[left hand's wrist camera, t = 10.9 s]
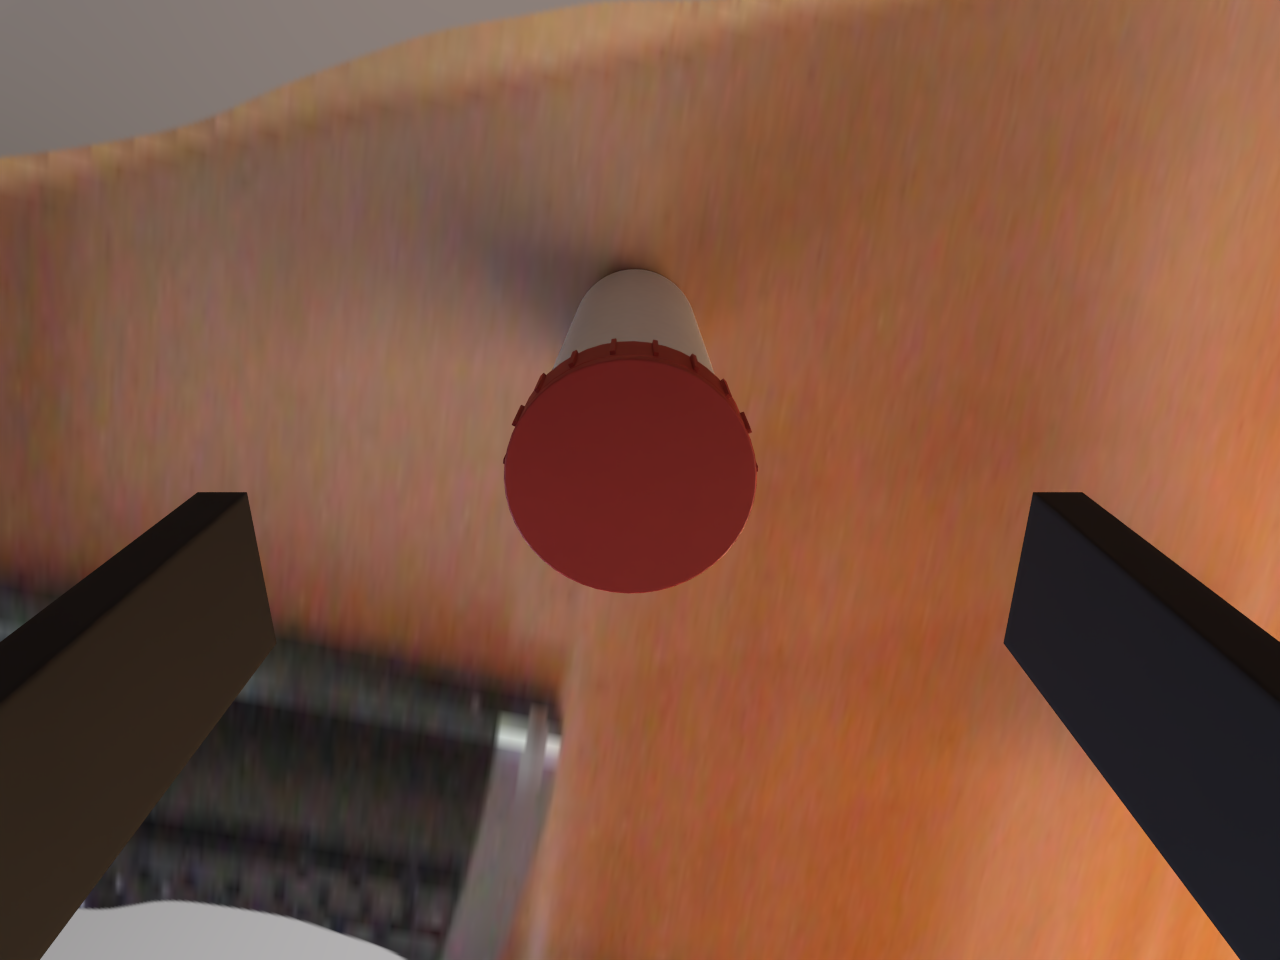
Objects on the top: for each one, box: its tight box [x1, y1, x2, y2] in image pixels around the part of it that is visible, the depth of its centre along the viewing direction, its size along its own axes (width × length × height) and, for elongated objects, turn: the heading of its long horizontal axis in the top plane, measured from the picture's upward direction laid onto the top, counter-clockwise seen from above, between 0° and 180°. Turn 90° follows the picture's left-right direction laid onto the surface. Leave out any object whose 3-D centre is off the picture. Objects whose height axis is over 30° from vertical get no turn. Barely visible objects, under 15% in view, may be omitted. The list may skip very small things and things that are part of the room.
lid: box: [503, 338, 758, 593], centre depth 17 cm, size 5×5×2 cm
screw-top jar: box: [553, 269, 715, 375], centre depth 24 cm, size 5×5×15 cm
